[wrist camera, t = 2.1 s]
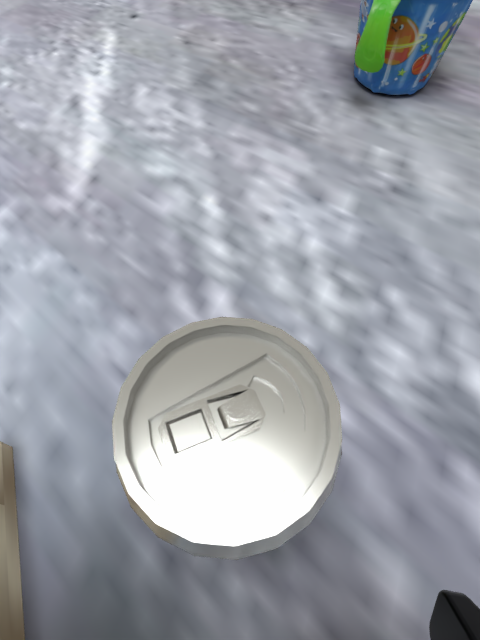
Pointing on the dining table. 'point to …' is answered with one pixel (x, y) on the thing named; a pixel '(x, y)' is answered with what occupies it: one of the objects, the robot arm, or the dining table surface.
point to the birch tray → (9, 553)
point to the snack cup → (404, 41)
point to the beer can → (227, 437)
